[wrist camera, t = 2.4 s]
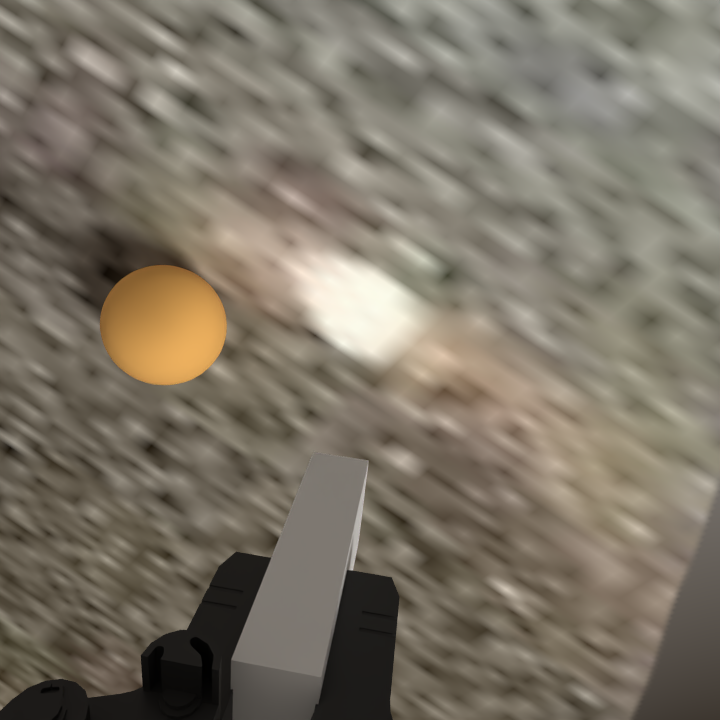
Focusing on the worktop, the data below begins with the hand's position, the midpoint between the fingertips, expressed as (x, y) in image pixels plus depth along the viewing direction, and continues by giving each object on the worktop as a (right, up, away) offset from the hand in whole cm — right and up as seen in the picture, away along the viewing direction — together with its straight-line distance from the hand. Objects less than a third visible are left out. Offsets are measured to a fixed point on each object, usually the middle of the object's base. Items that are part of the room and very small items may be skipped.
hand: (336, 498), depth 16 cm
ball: (-8, +5, +11) cm, 15 cm away
